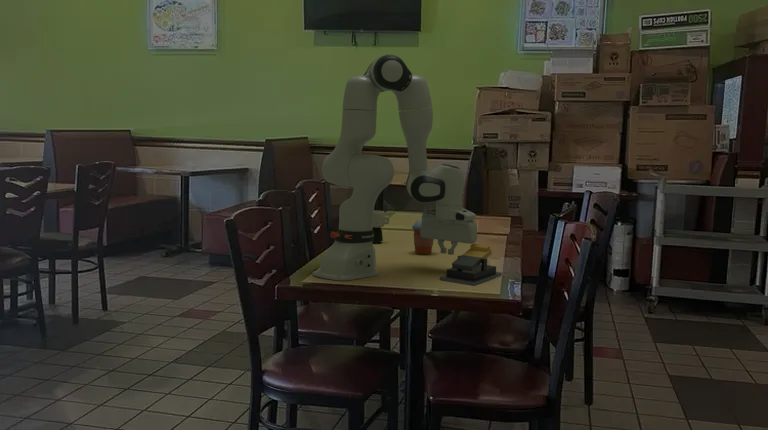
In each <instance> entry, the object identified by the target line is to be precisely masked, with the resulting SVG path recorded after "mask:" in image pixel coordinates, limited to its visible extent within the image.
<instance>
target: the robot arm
mask: <svg viewBox="0 0 768 430" xmlns="http://www.w3.org/2000/svg"><path fill="white" fill-rule="evenodd" d="M428 85H429V84H428V83H427V80H426V79H425V77H423V76H422V75H419V74H412V72H411V70H410V69H409V68H408V66H407V63H405V62H404V60H403V59H402V58H400V57H399V56H397V55H394V54H385V55H381V56H379V57H377V58H376V59H374V61H373V62H372V63H370V64H369V66H368V67H367V69H366V71H365V72H364V74H363V75H359V74H358V75H353V77H350V78H349V79H348V80H347V82H346V84H345V88H344V92H343V99H342V115H341V116H342V117H341V127H340V129H341V130H340V135H339V139H338V142H337V143H336V146H335V148H334V149H333V150H332V151H331V153H329V154H328V155H327V156H325V158H324V160H323V162H322V165H321V173H322V177H323V178H324V180H325V181H326V182H327V183H330V184H332V185H335V186H338V187H339V186H340V187H349V188H350V187H351V188H353V190H352V194H351V196H350V197H349V198H347V199H345V200H344V201H343V202H342V203H341V204H340V205H339V210H338V211H339V213H338V215H339V216H338V218H339V219H338V229H337V230H336V231H331V233H330V234H329V236H330V238H332V239H333V238H334V242H333V243H332V244H331V246H330V247H329V248H328V249H327V250H326V251H325V252H324V254H323V255H322V257H321V260H320V266H319V267H320V268H319V269H317V270H315V271H312V275H313V276H314V277H318V278H321V279H327V280H333V281H334V280H335V281H341V282H342V281H343V282H344V281H352V280H357V279H364V278H365V279H366V278H370V277H376V276H379V275H380V274H379V271H378V270H377V259H376V258H377V257H376V249H375V247H374V244H373V243H374V242H372V241H373V240H374V230H373V229H372V227H373V212H374V210H375V205H376V201H377V199H378V197H379V196H380V194H381V193H382V192H383V190H384V189H385V188H387V187H388V186H389V185H391V183H392V182H393V179H394V175H395V168H394V165H393V163H392V161H391V159H389V158H387V157H384V156H382V155H378V154H370V153H369V154H368V153H362V151H363V147H364V146H365V144H366V143H368V142H370V141H371V140H373V138H374V137H375V135H376V133H377V113H378V112H377V111H378V110H377V108H378V106H377V105H378V104H377V103H378V97H379V96H380V94H381V93H384V92H389V91H390V92H392V93H393V94H394V95H395V97H396V100H397V108H398V116H399V122H400V126H401V130H402V133H403V136H404V138H405V142H406V146H407V157H408V166H409V167H408V170H409V171H408V176H407V178H406V182H405V191H406V193H407V195H408V196H409V197H410V198H411V199H412V200H413V201H417V203H421V204H428V203H433V202H436V203H435V211H432V210H431V211H430V210H426V212H424V211H423V213H421V218H422V223H421V229H420V235H421V237H422V238H430V239H434V240H437V244H438V246H439V248H440V254H448V255H454V254H455V249H457V248H456V247H457V246H458V244H459V243H461V244H469V245H472V244H476V242H477V240H478V226H477V222H476V221H475V220H476V218H477V215H476V213H474V212H472V211H470V210H468V209H466V208H464V207H463V204H464V203H463V199H462V198H463V193H464V174H463V173H464V172H463V170H462V168H460V167H459V166H456V165H452V164H447V163H441V164H440V165H438V166H437V167H435V168H434V169H431V170H429V168H428V156H427V155H428V154H427V141H428V137H429V135H430V134H431V131H432V130H433V122H434V121H433V120H434V119H433V118H434V115H433V114H434V113H433V103H432V98H431V93H430V88H429V86H428ZM425 213H426V214H425ZM445 241H447V242H450V245H451V247H450V248H447V247H445V244H444V243H445Z"/></svg>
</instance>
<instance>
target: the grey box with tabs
mask: <svg viewBox="0 0 768 430" xmlns="http://www.w3.org/2000/svg"><path fill="white" fill-rule="evenodd" d="M462 255H463V254H460V255H457V259H458V258H459V257H460V256H462ZM501 275H502V276H503V272H501V271H497V266H495V265H489V264H488V258H487V259H482V263H481V264H480V265H478V266H477V267H476V268H475V269H474V270H473V271H469V270H462V269H456V268H452V267H449V268H447V269H446V274H445V275H440V277H439V281H445V282H451V283H455V284H462V285H469V286H477V285H480V284H483V283H485V282H488V281H491V280H493V279H496V277H497V278H499V277H502V276H501ZM498 276H499V277H498Z"/></svg>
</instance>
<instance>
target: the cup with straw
mask: <svg viewBox="0 0 768 430" xmlns="http://www.w3.org/2000/svg"><path fill="white" fill-rule="evenodd" d="M426 211H427V206H423V213H424V212H426ZM425 214H426V213H425ZM421 223H422V217H419V218H417V219H416V220H415V222H414V224H413V225H412V227H411V228H412V229H413V244H414V253H415V254H416V255H422V256H423V255H426V256H427V255H431V254H432V250H433V246H434V240H435V239H430V238H422V237H421V235H420V229H421Z"/></svg>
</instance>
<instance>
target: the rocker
mask: <svg viewBox="0 0 768 430" xmlns="http://www.w3.org/2000/svg"><path fill="white" fill-rule="evenodd" d="M492 251H493V250H492V249H491V246H490V245H485V244H478V243H472V244H470V248H469V249H467V250H466V251H465V252H464V253H463V254H461V255H462V256H460V255H459V256H460V257H459V258H458V257H457V258H456V259H455V260H454V261H453V262H452V263H451V268H456V269H462V270H469V271H473V270H474V269H475V268H476V267H477V266H478V265H480V264H482V259H487V260H488V258H489V257H490V256H491V255H492V254H493V252H492Z"/></svg>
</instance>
